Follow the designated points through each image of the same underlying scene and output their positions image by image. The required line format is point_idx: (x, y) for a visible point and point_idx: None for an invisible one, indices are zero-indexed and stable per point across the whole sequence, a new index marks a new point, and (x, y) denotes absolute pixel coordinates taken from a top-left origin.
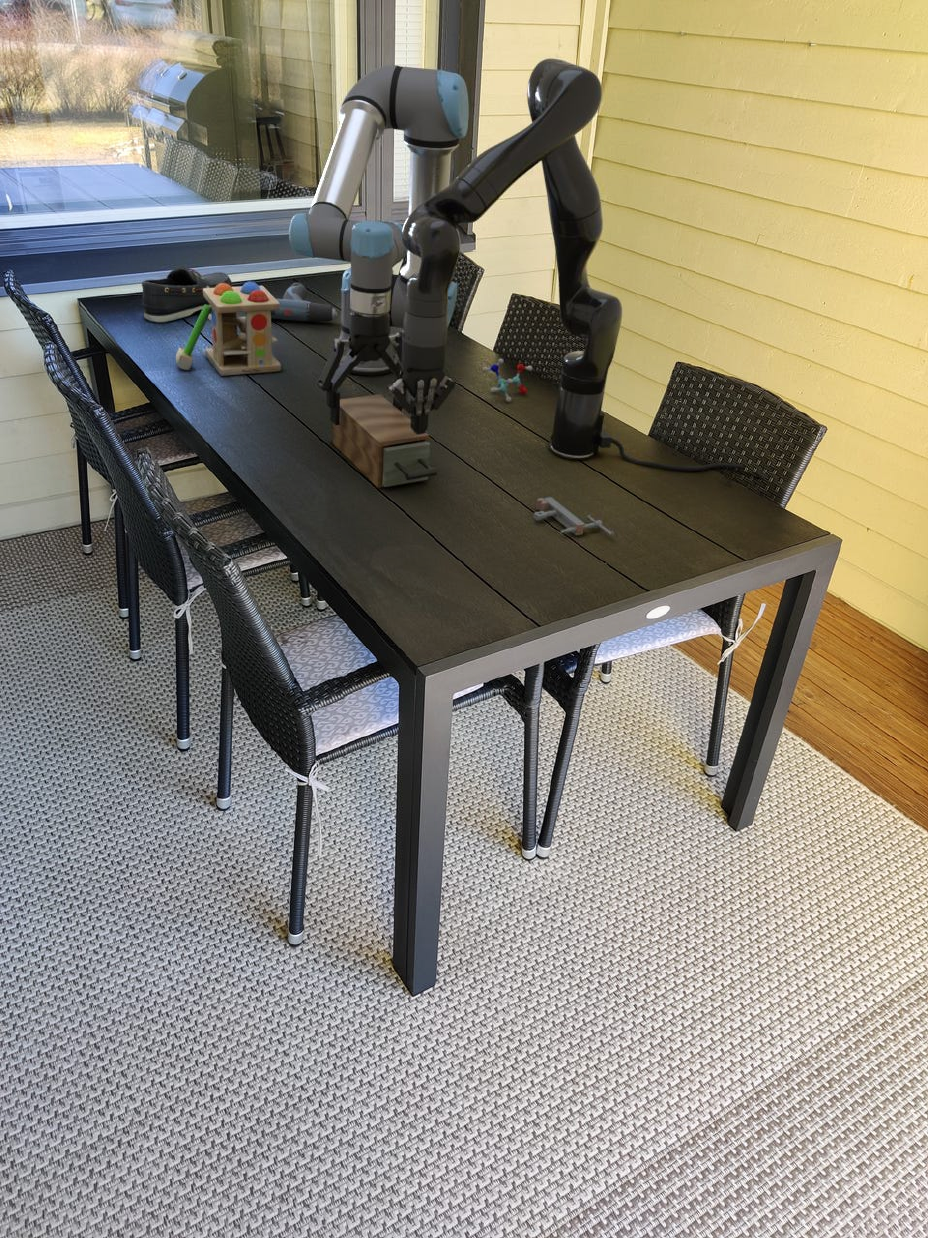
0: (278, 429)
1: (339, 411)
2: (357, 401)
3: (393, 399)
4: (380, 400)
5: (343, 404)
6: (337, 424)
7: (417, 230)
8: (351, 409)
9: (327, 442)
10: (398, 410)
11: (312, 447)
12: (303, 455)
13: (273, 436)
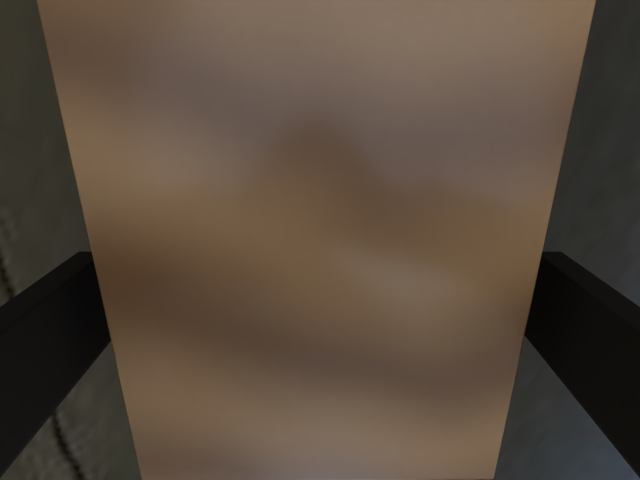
0: (532, 456)
1: (596, 299)
2: (348, 424)
3: (70, 382)
4: (176, 397)
5: (468, 409)
6: (554, 252)
7: None
8: (467, 319)
9: None
10: (88, 187)
11: None
12: (582, 253)
13: (580, 418)
